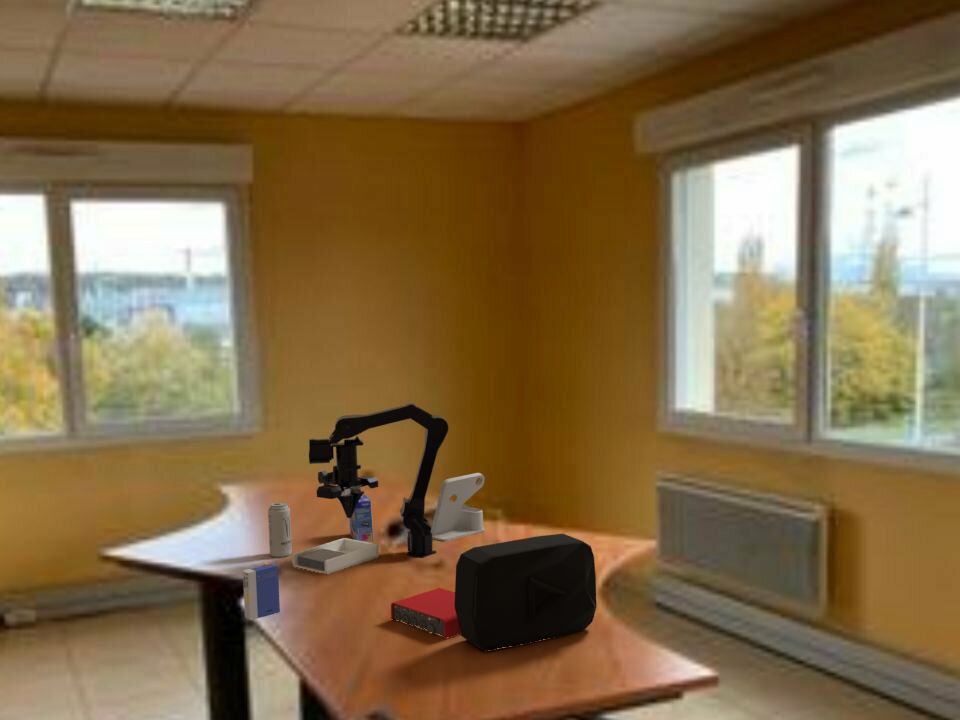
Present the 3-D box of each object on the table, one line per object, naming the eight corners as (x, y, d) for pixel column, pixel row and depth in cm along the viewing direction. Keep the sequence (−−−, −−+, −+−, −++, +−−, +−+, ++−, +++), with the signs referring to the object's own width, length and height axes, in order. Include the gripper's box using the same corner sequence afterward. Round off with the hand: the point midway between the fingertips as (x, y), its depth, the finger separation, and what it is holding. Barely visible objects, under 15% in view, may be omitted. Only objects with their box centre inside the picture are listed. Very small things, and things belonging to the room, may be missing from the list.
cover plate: (348, 562, 265) (348, 553, 265) (324, 571, 258) (323, 561, 258) (322, 557, 272) (322, 548, 271) (298, 565, 264) (297, 556, 264)
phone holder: (465, 525, 307) (463, 468, 306) (487, 530, 300) (485, 472, 299) (422, 536, 295) (420, 477, 294) (444, 542, 288) (443, 481, 287)
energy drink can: (286, 559, 274) (284, 506, 273) (266, 559, 275) (264, 506, 274) (295, 553, 280) (293, 501, 278) (275, 553, 281) (273, 501, 280)
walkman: (273, 612, 230) (271, 561, 229) (280, 615, 228) (277, 564, 227) (243, 620, 224) (241, 569, 223) (250, 623, 222) (247, 571, 221)
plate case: (378, 558, 272) (378, 544, 272) (327, 576, 257) (326, 561, 257) (344, 551, 280) (344, 537, 280) (292, 568, 265) (292, 553, 265)
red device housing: (391, 623, 221) (390, 601, 220) (438, 607, 231) (437, 587, 230) (445, 642, 208) (444, 619, 208) (492, 625, 218) (492, 603, 218)
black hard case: (574, 617, 221) (572, 529, 219) (606, 633, 210) (605, 541, 209) (454, 643, 207) (451, 550, 205) (482, 662, 196) (479, 564, 194)
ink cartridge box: (348, 535, 299) (347, 487, 298) (366, 533, 301) (365, 486, 300) (355, 542, 290) (353, 494, 289) (374, 540, 292) (372, 492, 291)
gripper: (350, 454, 283) (352, 507, 284) (301, 464, 268) (304, 521, 270) (378, 457, 276) (380, 512, 278) (330, 468, 262) (332, 526, 263)
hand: (349, 517), depth 272 cm, fingers closed
